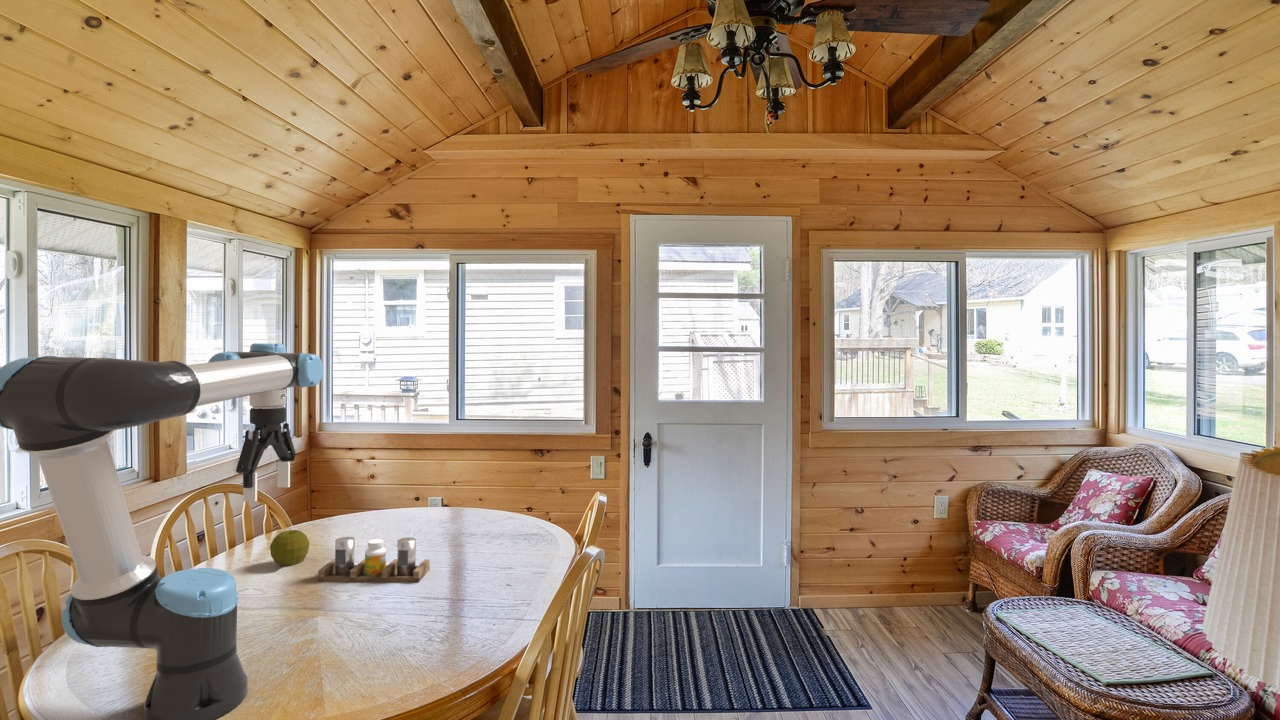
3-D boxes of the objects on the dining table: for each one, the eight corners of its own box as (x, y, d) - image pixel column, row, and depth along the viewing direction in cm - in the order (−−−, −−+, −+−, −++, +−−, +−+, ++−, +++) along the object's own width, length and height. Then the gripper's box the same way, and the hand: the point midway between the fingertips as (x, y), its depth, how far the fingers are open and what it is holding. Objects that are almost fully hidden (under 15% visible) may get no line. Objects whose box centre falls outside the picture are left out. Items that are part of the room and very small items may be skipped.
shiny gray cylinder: (348, 579, 163) (348, 543, 162) (330, 579, 163) (330, 543, 162) (357, 571, 168) (357, 536, 168) (340, 571, 168) (340, 536, 168)
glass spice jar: (411, 580, 163) (411, 543, 163) (393, 579, 163) (393, 543, 163) (417, 572, 169) (418, 537, 168) (400, 572, 168) (401, 537, 168)
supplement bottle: (360, 578, 164) (360, 543, 163) (372, 571, 169) (373, 537, 169) (377, 580, 163) (378, 544, 162) (389, 572, 168) (390, 538, 168)
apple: (262, 568, 171) (262, 531, 171) (289, 557, 181) (289, 521, 181) (290, 572, 169) (291, 534, 169) (316, 561, 179) (317, 524, 178)
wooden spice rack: (418, 585, 162) (418, 571, 162) (318, 585, 161) (318, 570, 161) (429, 573, 171) (429, 559, 171) (334, 572, 170) (334, 558, 170)
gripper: (251, 412, 132) (251, 507, 132) (310, 402, 157) (310, 482, 157) (217, 412, 132) (217, 507, 132) (281, 401, 157) (281, 481, 157)
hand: (267, 493), depth 145 cm, fingers open, 13 cm apart
